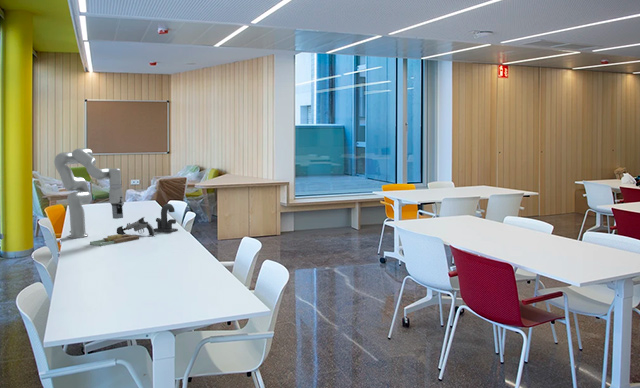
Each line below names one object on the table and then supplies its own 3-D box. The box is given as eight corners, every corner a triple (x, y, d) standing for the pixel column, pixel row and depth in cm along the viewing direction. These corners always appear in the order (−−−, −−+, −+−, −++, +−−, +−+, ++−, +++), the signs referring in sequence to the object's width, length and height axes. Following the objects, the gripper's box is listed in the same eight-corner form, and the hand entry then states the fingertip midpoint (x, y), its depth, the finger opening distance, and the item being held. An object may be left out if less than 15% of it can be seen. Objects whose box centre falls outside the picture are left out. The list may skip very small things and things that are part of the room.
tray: (90, 244, 363) (89, 241, 363) (104, 242, 372) (104, 239, 372) (100, 246, 357) (99, 243, 357) (114, 243, 366) (114, 240, 365)
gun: (153, 235, 391) (144, 215, 391) (122, 248, 398) (113, 229, 397) (157, 233, 396) (148, 214, 396) (126, 247, 403) (118, 227, 402)
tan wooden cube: (107, 242, 370) (107, 236, 369) (113, 241, 373) (112, 235, 373) (111, 242, 368) (111, 236, 367) (116, 241, 371) (116, 235, 370)
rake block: (112, 218, 379) (111, 202, 378) (119, 217, 383) (118, 201, 382) (116, 218, 376) (115, 202, 375) (123, 217, 381) (122, 201, 379)
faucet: (184, 229, 419) (183, 202, 417) (171, 232, 404) (170, 205, 402) (164, 228, 426) (163, 202, 423) (151, 231, 411) (149, 204, 409)
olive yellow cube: (113, 240, 373) (113, 235, 373) (118, 240, 377) (118, 234, 376) (117, 241, 371) (116, 235, 371) (122, 240, 374) (122, 234, 374)
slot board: (103, 241, 373) (103, 238, 373) (126, 237, 387) (126, 234, 387) (115, 244, 365) (115, 240, 364) (139, 239, 379) (139, 236, 379)
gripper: (103, 187, 379) (105, 213, 381) (118, 187, 370) (120, 214, 371) (113, 186, 386) (115, 212, 387) (128, 186, 376) (130, 213, 378)
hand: (117, 213), depth 379 cm, fingers closed on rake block, 4 cm apart
